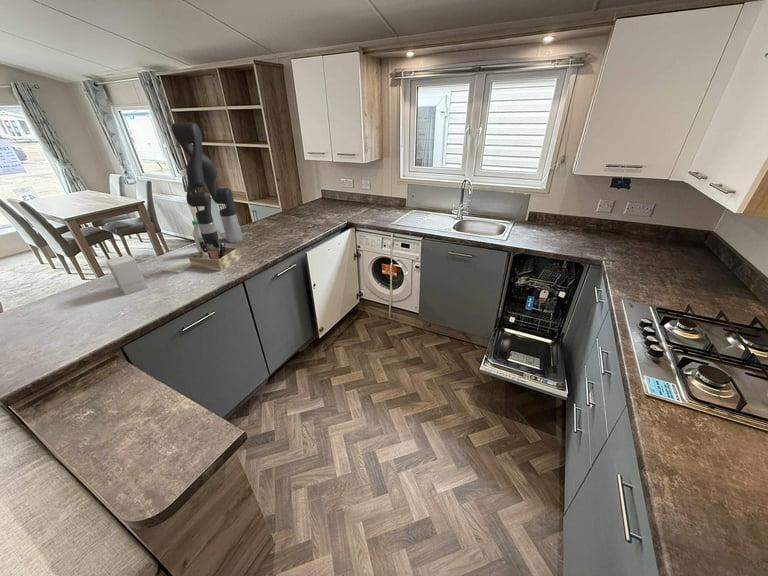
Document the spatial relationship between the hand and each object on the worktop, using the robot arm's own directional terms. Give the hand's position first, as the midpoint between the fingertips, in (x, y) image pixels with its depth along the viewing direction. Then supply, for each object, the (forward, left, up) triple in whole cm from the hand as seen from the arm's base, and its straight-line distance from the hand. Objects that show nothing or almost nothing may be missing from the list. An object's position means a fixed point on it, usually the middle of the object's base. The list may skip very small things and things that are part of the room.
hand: (217, 259), depth 166 cm
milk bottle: (-10, -15, -2) cm, 18 cm away
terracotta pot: (0, 0, -1) cm, 1 cm away
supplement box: (+34, -19, -2) cm, 39 cm away
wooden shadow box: (0, 0, -2) cm, 2 cm away
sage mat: (+10, -16, -2) cm, 19 cm away
